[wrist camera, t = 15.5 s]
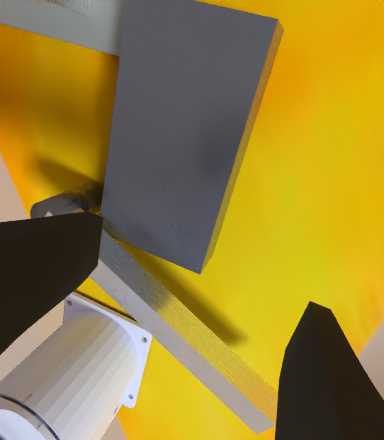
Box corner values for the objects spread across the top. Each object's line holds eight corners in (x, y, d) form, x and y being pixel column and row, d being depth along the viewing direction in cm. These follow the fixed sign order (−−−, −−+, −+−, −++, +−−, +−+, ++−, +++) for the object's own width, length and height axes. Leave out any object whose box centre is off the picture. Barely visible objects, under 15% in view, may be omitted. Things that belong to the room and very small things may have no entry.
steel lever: (265, 371, 22) (253, 435, 18) (78, 196, 23) (24, 219, 18) (286, 359, 21) (279, 423, 17) (90, 176, 22) (36, 195, 17)
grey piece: (212, 255, 21) (199, 274, 19) (119, 217, 22) (98, 231, 20) (283, 30, 15) (278, 19, 13) (153, 0, 17) (128, -14, 14)
